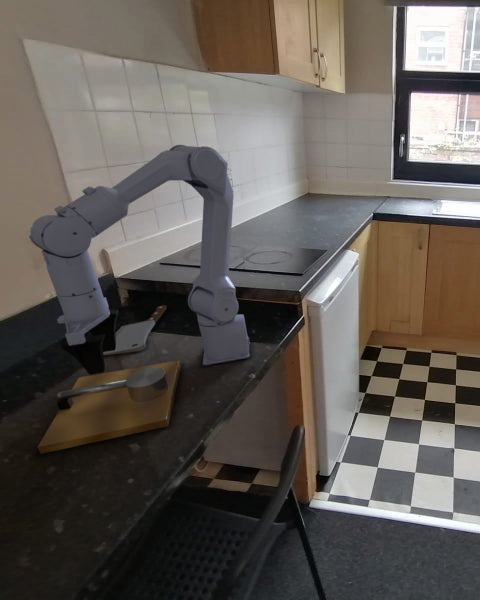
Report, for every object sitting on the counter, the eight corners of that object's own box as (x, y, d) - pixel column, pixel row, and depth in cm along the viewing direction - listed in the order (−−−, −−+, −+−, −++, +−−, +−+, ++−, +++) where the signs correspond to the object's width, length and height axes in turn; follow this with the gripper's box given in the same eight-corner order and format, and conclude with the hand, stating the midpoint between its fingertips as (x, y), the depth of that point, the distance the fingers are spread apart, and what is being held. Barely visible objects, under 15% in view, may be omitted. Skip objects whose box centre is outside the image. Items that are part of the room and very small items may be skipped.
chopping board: (180, 366, 86) (179, 360, 86) (168, 426, 69) (166, 419, 69) (81, 383, 80) (78, 377, 80) (40, 454, 63) (37, 446, 63)
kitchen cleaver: (136, 308, 111) (174, 303, 113) (137, 311, 112) (175, 306, 113) (92, 354, 89) (141, 348, 91) (94, 358, 90) (142, 352, 91)
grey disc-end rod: (170, 378, 80) (167, 364, 78) (166, 397, 74) (162, 382, 73) (67, 397, 74) (61, 382, 73) (54, 419, 69) (48, 404, 67)
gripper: (64, 278, 70) (88, 345, 76) (29, 311, 58) (61, 389, 63) (111, 273, 73) (132, 338, 78) (87, 304, 60) (113, 379, 66)
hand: (103, 361), depth 71 cm, fingers open, 7 cm apart
